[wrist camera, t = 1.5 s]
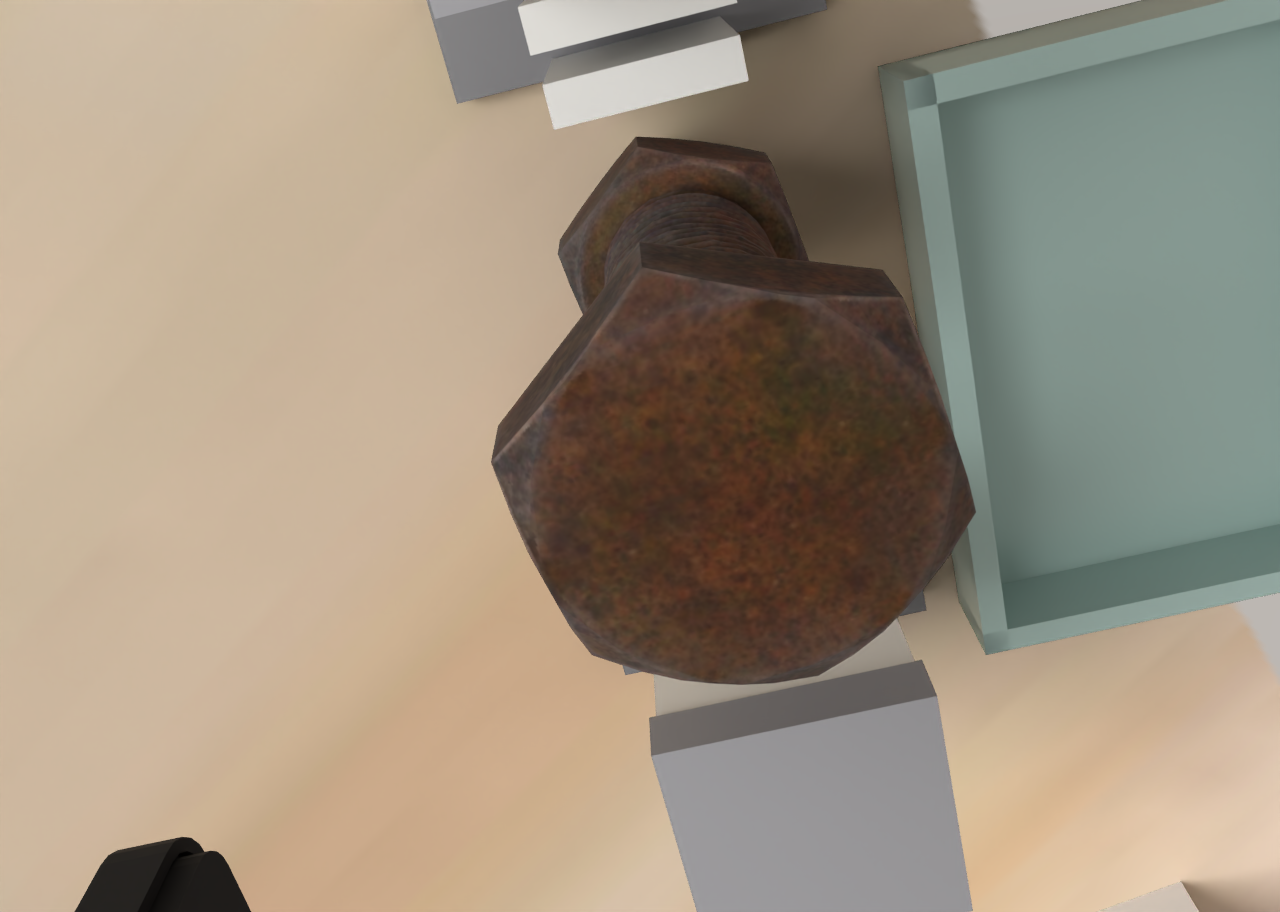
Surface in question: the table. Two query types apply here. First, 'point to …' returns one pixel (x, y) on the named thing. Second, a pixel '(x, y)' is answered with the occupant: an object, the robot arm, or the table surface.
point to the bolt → (727, 433)
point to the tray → (1102, 307)
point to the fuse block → (756, 713)
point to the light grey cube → (1158, 901)
